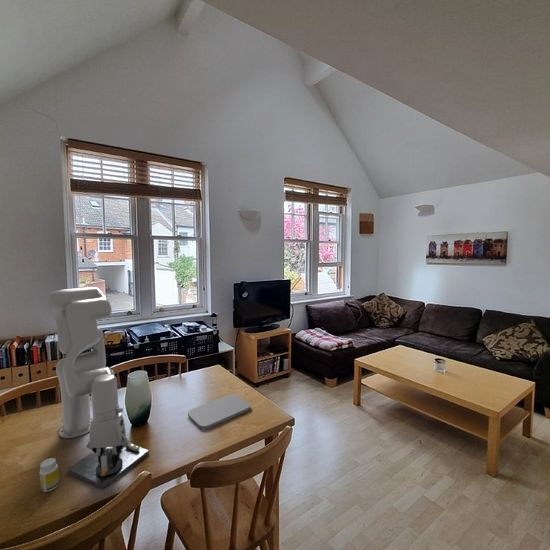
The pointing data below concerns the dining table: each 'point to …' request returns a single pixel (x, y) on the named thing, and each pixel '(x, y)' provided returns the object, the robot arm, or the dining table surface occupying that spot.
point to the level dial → (108, 464)
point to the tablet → (218, 411)
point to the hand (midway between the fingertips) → (109, 463)
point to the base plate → (88, 464)
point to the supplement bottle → (49, 475)
